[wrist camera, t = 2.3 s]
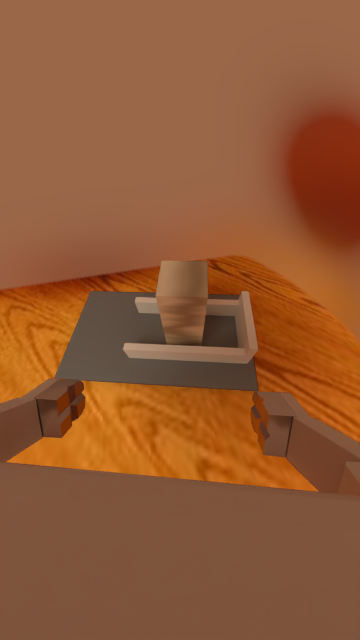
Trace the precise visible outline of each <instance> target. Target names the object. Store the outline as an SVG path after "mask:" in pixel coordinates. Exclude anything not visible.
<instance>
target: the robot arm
mask: <svg viewBox="0 0 360 640" xmlns="http://www.w3.org/2000/svg"><path fill="white" fill-rule="evenodd" d="M83 390H84V384H83V382H82V381H79V380H67V379H48V380H47V381H45V382H44V383H42V384H41V385H39V386H38V387H36V388H35V389H33V390H32V391H30V392H29V393H28V394H26V395H25V396H23V397H22V398H16V399H13V400H10V401H7V402H4V403H1V404H0V640H360V443H359V442H357V441H355V440H353V439H351V438H350V437H348V436H346V435H344V434H343V433H341V432H339V431H337V430H335V429H334V428H332V427H330V426H328V425H327V424H325V423H323V422H321V421H319V420H318V419H316V418H311V417H310V416H309V414H308V413H307V412H306V411H305V410H304V408H303V407H302V406H301V405H300V404H299V403H298V401H297V400H296V399H295V398H294V397H293V395H292V394H290V393H288V392H254V393H253V399H252V400H253V402H254V404H255V405H254V406H253V407H252V408H251V423H252V427H253V429H254V432H256V433H257V434H258V442H259V445H260V447H261V450H262V452H263V455H270V456H279V457H286V459H287V460H288V461H289V462H290V463H291V464H292V465H293V466H294V467H295V468H296V469H297V470H298V471H299V472H300V473H301V474H302V475H303V476H304V477H305V478H306V479H307V480H308V481H309V482H310V483H311V484H312V485H313V486H314V487H315V488H316V489H317V490H318V491H319V492H315V491H304V490H293V489H282V488H271V487H260V486H250V485H240V484H229V483H219V482H209V481H199V480H188V479H178V478H168V477H157V476H146V475H136V474H125V473H114V472H104V471H93V470H82V469H72V468H61V467H51V466H40V465H29V464H19V463H8V462H6V461H8V460H9V459H11V458H12V457H14V456H15V455H17V454H18V453H20V452H21V451H23V450H25V449H26V448H28V447H29V446H31V445H32V444H34V443H35V442H37V441H38V440H40V439H42V437H55V438H62V437H63V436H64V435H65V434H66V432H67V431H68V430H69V429H70V428H71V426H72V421H74V420H76V419H78V418H79V417H80V415H81V414H82V413H83V410H84V408H85V396H84V395H83V394H82V391H83Z"/></svg>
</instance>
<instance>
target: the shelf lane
mask: <svg viewBox="0 0 360 640" xmlns="http://www.w3.org/2000/svg"><path fill="white" fill-rule="evenodd" d="M257 351H258V344H257V338H256V332H255V326H254V320H253V314H252V309H251V303H250V297H249V291H241V294H240V295H216V294H208V301H207V308H206V315H205V322H204V330H203V337H202V344H201V346H182V345H167V342H166V338H165V334H164V330H163V325H162V321H161V317H160V313H159V308H158V304H157V300H156V293H139V292H100V291H91V292H90V294H89V297H88V299H87V302H86V304H85V306H84V309H83V311H82V313H81V316H80V318H79V321H78V323H77V325H76V328H75V330H74V332H73V335H72V337H71V340H70V342H69V344H68V347H67V349H66V351H65V354H64V356H63V359H62V361H61V363H60V366H59V368H58V371H57V373H56V375H55V379H67V380H82V381H99V382H115V383H132V384H148V385H165V386H182V387H198V388H215V389H231V390H248V391H258V385H257V378H256V371H255V365H254V358H253V356H254V355H255V353H256V352H257Z"/></svg>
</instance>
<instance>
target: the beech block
mask: <svg viewBox="0 0 360 640" xmlns="http://www.w3.org/2000/svg"><path fill="white" fill-rule="evenodd" d="M156 300H157V304H158V308H159V313H160V317H161V321H162V325H163V330H164V334H165V338H166V342H167V345H182V346H201V344H202V337H203V330H204V322H205V315H206V308H207V301H208V269H207V261H162V262H161V268H160V274H159V279H158V285H157V291H156Z"/></svg>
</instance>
